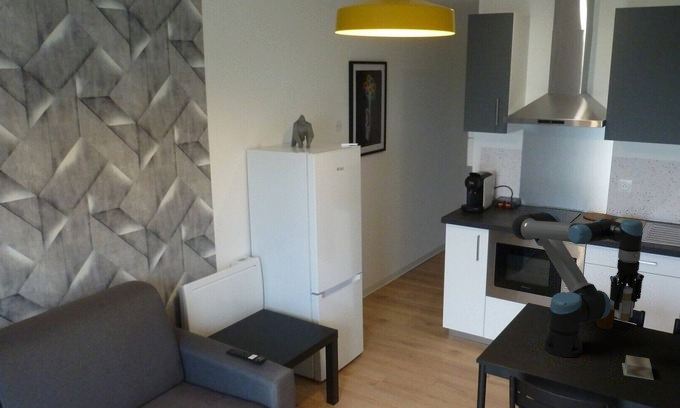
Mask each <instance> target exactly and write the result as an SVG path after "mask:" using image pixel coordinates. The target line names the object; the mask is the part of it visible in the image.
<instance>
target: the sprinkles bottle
mask: <svg viewBox="0 0 680 408" xmlns="http://www.w3.org/2000/svg"><path fill="white" fill-rule="evenodd" d="M632 290H633V289H632V288H631V287H629V286H628V285H626V287H625V288H624V291H623V295H622V298H621V303H622V311H621V319H619V318H617V317H616V319H617V320H618V321H620V322H621V321H622V322H629V321H630V317H629V314H630V307H631V295H632Z"/></svg>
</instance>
